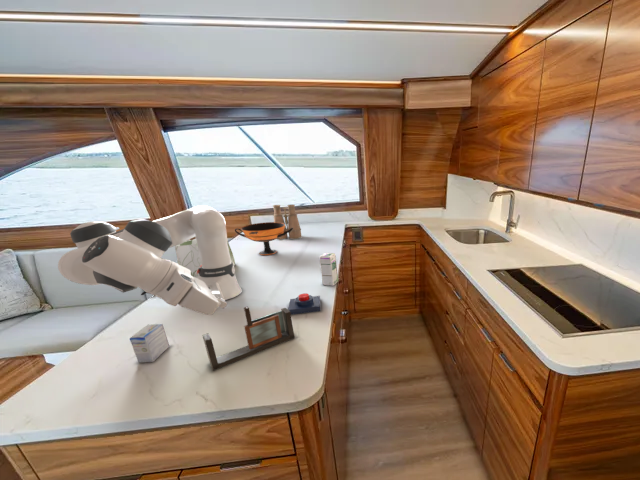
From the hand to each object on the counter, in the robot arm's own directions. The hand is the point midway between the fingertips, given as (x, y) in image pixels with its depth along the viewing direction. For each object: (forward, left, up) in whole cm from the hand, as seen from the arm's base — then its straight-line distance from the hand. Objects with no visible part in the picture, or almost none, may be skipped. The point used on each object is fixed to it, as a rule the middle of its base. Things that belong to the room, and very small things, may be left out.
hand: (224, 304), depth 83 cm
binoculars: (0, +154, -19) cm, 156 cm away
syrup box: (+29, +52, -19) cm, 63 cm away
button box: (+18, +29, -18) cm, 39 cm away
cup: (-9, +115, -19) cm, 117 cm away
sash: (+8, +4, -17) cm, 19 cm away
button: (+18, +29, -15) cm, 38 cm away
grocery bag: (-33, +82, -19) cm, 91 cm away
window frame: (+4, +3, -18) cm, 19 cm away
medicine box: (-26, +9, -19) cm, 33 cm away
